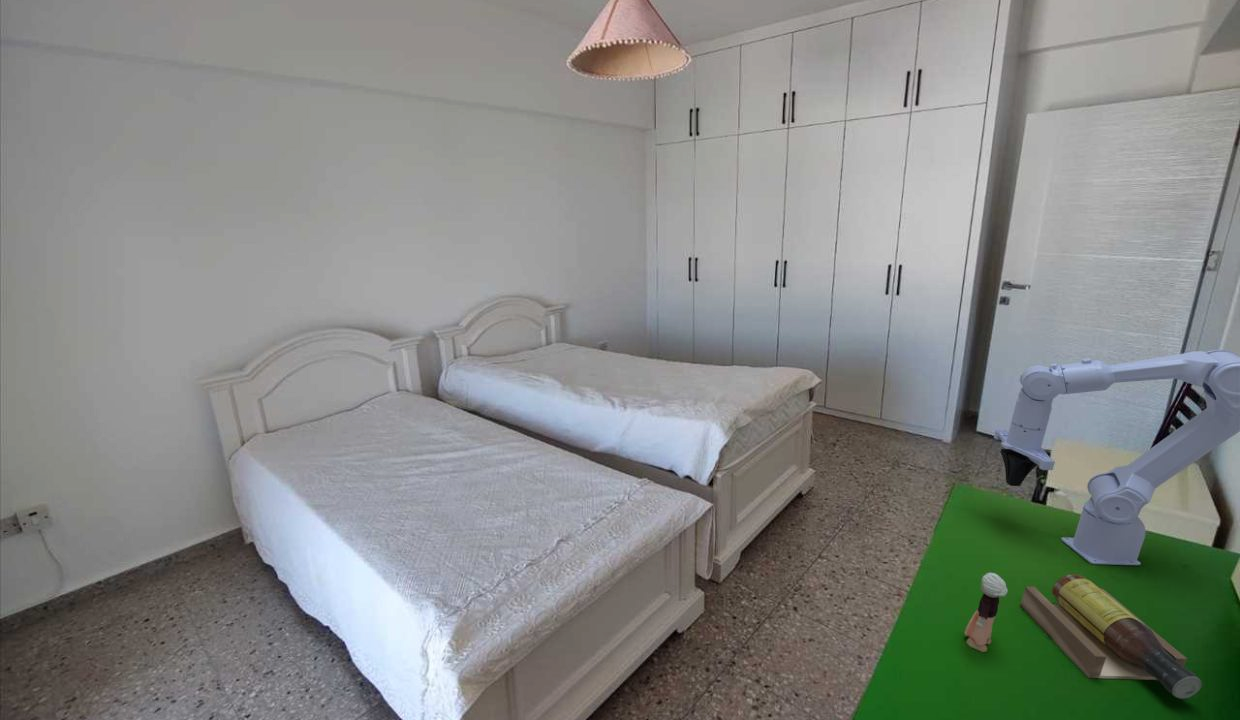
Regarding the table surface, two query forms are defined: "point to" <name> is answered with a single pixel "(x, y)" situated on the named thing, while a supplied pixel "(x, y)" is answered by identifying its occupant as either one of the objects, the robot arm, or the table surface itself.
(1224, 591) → the table surface
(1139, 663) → the sauce bottle
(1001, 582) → the grandmother figurine
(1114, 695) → the table surface
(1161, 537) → the table surface
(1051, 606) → the u rest
